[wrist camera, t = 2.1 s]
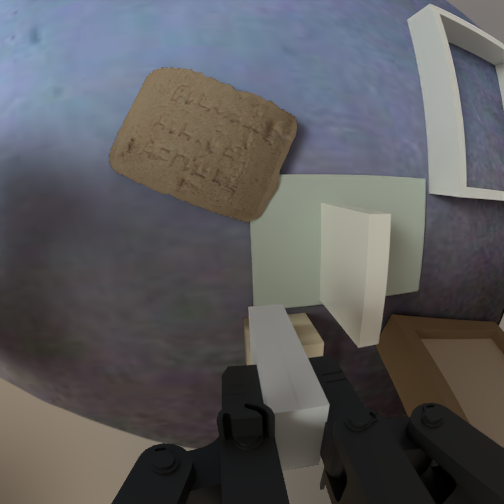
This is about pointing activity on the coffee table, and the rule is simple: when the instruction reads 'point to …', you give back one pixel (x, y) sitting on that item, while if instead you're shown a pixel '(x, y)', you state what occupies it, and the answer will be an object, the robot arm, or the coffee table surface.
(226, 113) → the clay tablet
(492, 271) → the coffee table surface
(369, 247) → the tile
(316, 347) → the block
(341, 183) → the mat
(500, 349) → the photo frame
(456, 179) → the white open rectangular frame
